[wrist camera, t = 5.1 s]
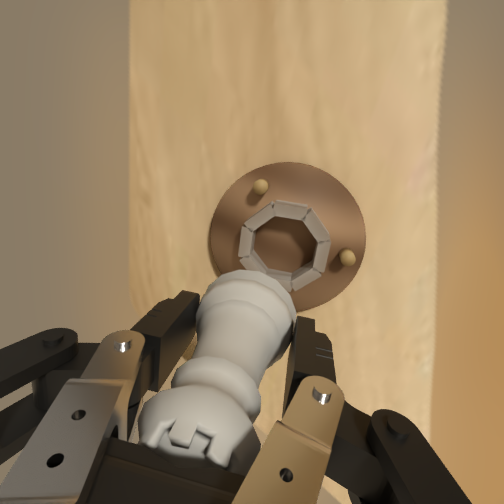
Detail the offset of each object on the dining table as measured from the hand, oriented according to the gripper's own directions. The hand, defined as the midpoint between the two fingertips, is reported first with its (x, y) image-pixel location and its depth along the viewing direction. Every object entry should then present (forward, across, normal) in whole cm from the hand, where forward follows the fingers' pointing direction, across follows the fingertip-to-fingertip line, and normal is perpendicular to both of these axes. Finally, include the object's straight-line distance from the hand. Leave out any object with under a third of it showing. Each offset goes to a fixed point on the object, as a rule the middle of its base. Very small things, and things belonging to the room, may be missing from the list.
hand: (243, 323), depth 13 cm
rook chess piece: (+1, 0, 0) cm, 1 cm away
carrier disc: (+16, -1, 0) cm, 16 cm away
